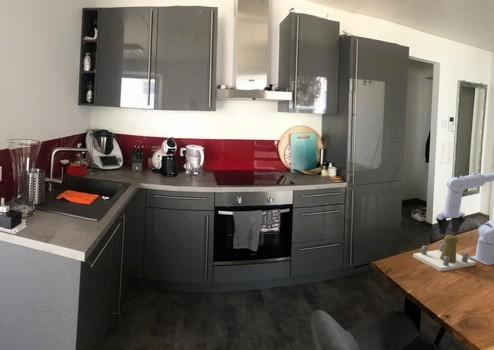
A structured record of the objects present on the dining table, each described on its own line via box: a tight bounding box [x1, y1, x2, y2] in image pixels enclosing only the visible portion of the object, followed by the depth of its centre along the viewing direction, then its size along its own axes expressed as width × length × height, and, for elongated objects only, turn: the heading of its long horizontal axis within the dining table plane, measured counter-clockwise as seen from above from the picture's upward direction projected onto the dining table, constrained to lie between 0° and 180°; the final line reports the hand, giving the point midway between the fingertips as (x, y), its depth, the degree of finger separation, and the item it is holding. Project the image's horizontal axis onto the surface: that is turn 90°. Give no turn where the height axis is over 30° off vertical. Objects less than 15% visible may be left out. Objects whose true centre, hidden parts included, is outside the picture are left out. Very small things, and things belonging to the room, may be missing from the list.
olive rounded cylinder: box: [440, 234, 459, 263], centre depth 142 cm, size 6×6×11 cm
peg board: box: [412, 242, 476, 272], centre depth 144 cm, size 20×14×5 cm
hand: (448, 233), depth 150 cm, fingers open, 7 cm apart
